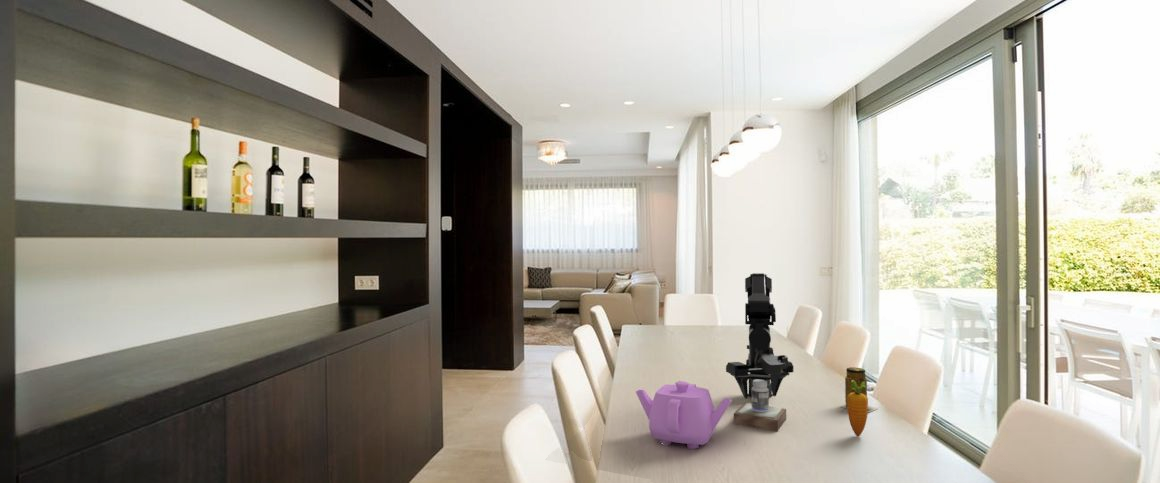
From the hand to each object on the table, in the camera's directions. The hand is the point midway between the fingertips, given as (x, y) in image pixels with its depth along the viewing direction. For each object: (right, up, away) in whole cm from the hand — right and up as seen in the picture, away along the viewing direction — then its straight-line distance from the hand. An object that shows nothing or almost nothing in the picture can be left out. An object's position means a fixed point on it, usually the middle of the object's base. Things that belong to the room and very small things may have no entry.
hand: (760, 397), depth 154 cm
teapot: (-25, -7, -14) cm, 30 cm away
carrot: (+22, -7, -13) cm, 26 cm away
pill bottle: (0, -4, 0) cm, 4 cm away
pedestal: (0, -7, 0) cm, 7 cm away
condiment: (+35, -7, +12) cm, 38 cm away
